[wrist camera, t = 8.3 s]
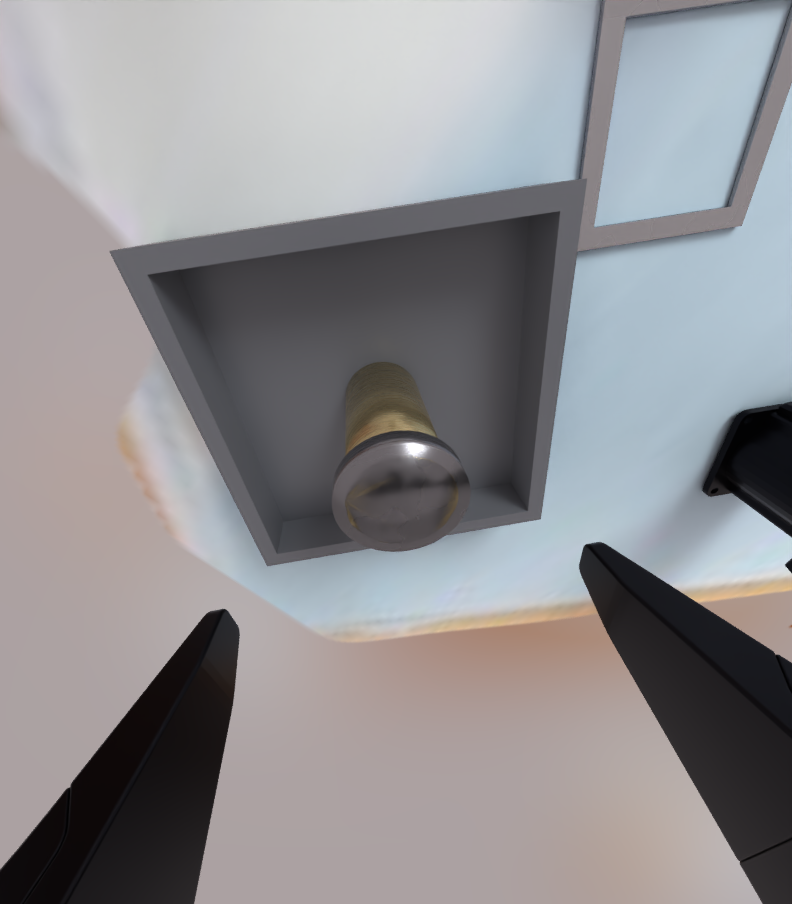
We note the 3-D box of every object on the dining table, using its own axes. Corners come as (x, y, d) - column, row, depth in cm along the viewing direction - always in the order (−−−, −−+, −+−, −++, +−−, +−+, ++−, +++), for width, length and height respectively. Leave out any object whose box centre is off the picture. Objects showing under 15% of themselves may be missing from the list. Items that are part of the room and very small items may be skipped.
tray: (519, 484, 23) (540, 519, 21) (276, 526, 23) (267, 566, 20) (545, 183, 15) (587, 177, 12) (152, 243, 14) (109, 251, 12)
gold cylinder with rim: (429, 427, 19) (471, 539, 13) (347, 441, 19) (347, 561, 13) (421, 346, 17) (469, 432, 10) (328, 361, 17) (316, 458, 10)
